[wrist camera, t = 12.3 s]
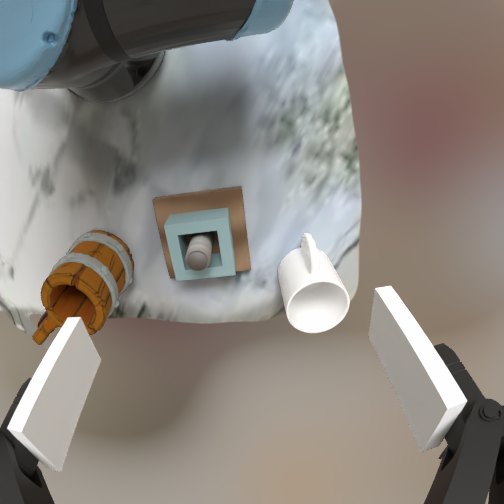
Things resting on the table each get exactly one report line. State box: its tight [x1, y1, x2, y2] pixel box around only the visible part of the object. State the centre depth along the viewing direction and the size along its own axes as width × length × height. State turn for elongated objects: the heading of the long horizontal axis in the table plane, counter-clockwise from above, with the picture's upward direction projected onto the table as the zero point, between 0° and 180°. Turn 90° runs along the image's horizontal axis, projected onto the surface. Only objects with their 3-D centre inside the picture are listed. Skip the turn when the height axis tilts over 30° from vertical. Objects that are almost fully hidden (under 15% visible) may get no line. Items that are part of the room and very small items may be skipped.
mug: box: [32, 231, 134, 345], centre depth 40 cm, size 11×16×15 cm, turn 125°
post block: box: [153, 186, 251, 278], centre depth 41 cm, size 12×12×9 cm
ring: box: [164, 208, 236, 281], centre depth 42 cm, size 8×8×4 cm
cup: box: [278, 233, 350, 333], centre depth 43 cm, size 8×12×10 cm
